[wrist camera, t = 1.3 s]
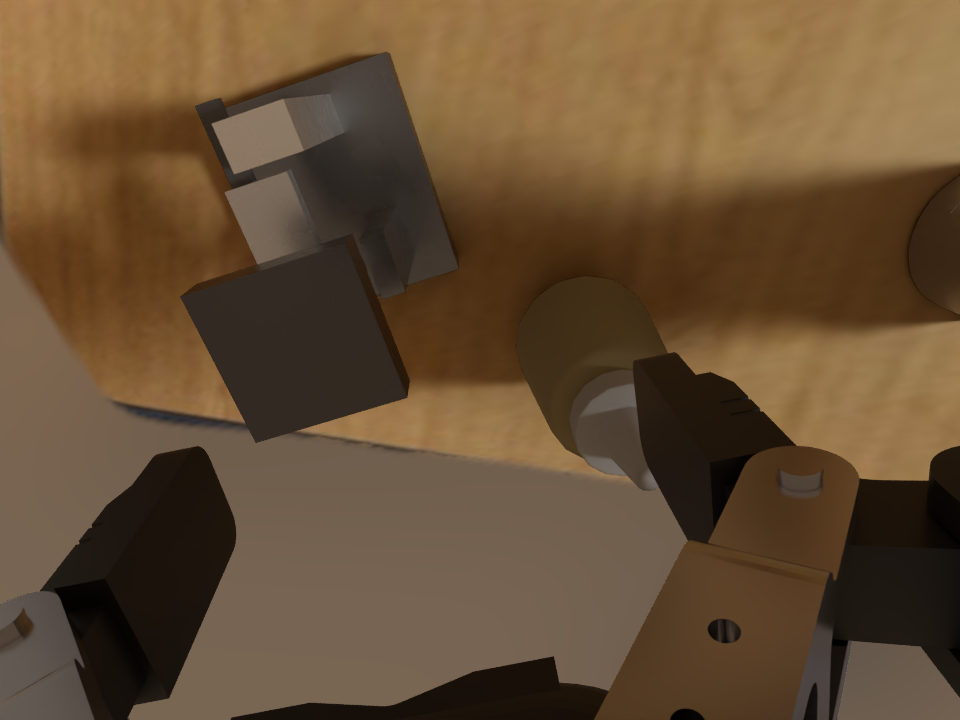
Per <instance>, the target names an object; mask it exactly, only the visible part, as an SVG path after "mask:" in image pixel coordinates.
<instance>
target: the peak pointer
mask: <svg viewBox="0 0 960 720" xmlns="http://www.w3.org/2000/svg"><path fill="white" fill-rule="evenodd" d="M195 108H196V110H197V112H198V114H199V116H200V119H201V121H202V123H203V125H204V128H205V130H206V132H207V134H208V136H209V139H210V141H211V143H212V145H213V147H214V150H215V152H216V154H217V156H218V158H219V161H220V163H221V165H222V167H223V169H224V172H225V174H226V176H227V178H228V180H229V183H230V185H231V187H232V189H233V188H236V187H239V186H242V185H245V184H248V183H251V182H254V181H257V179H256V177H255V175H254V173H253V170H252V169H249V170H246V171H243V172H240V173H237V174H234V173H233V171H232V169H231V166H230V164H229V162H228V160H227V157H226V155H225V153H224V151H223V148H222V146H221V144H220V142H219V140H218V137H217V135H216V133H215V131H214V128H213V126H212V123H215V122H218V121H221V120H224V119H227V118H229V115H228V113H227V111H226V108H225V106H224V104H223V102H222V99H221V98H218V99H214V100H211V101H208V102H205V103H203V104H200V105H197V106H195Z"/></svg>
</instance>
